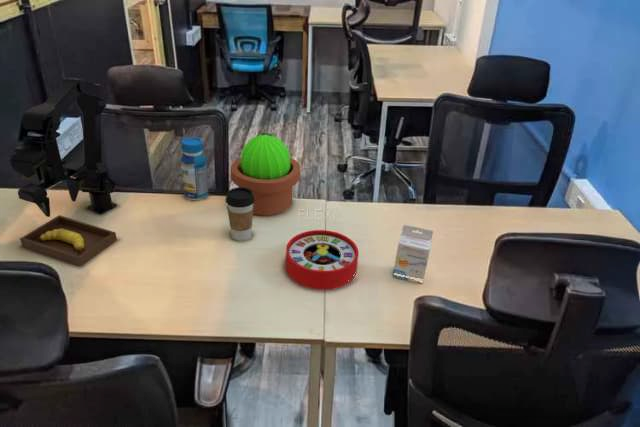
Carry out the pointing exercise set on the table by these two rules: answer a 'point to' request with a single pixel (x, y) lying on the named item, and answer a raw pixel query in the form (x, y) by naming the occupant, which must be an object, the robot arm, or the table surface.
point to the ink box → (413, 253)
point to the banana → (64, 237)
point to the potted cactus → (266, 174)
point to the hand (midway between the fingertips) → (61, 208)
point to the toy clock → (321, 259)
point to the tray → (93, 243)
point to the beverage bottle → (194, 169)
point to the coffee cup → (240, 212)
